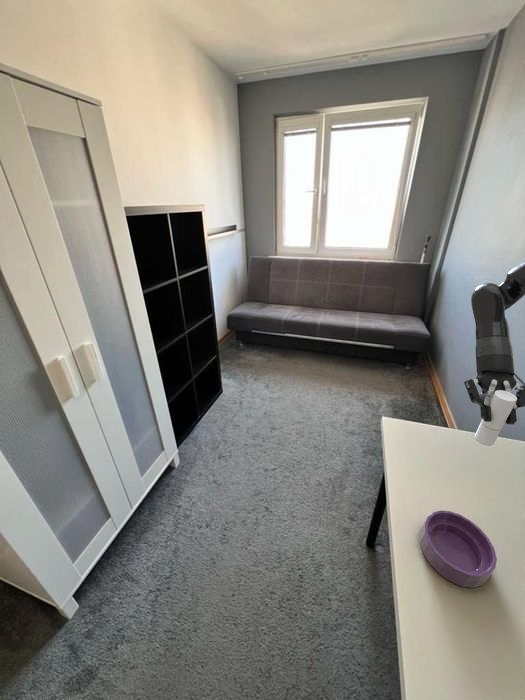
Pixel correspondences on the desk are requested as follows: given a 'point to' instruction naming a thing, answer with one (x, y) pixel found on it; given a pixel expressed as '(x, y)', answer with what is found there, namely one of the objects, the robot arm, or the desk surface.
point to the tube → (495, 417)
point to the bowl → (457, 549)
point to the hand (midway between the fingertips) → (498, 422)
